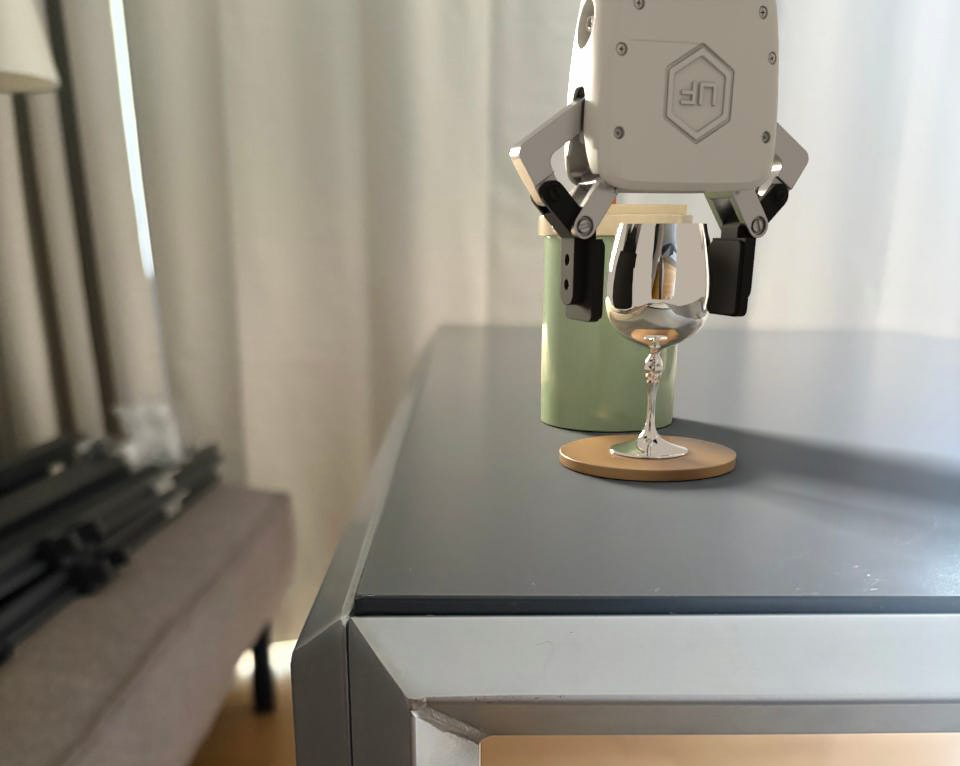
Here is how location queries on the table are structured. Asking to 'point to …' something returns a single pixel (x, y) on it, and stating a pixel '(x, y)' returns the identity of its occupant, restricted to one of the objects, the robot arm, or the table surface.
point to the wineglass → (658, 305)
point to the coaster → (647, 460)
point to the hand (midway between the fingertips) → (655, 316)
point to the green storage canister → (599, 346)
